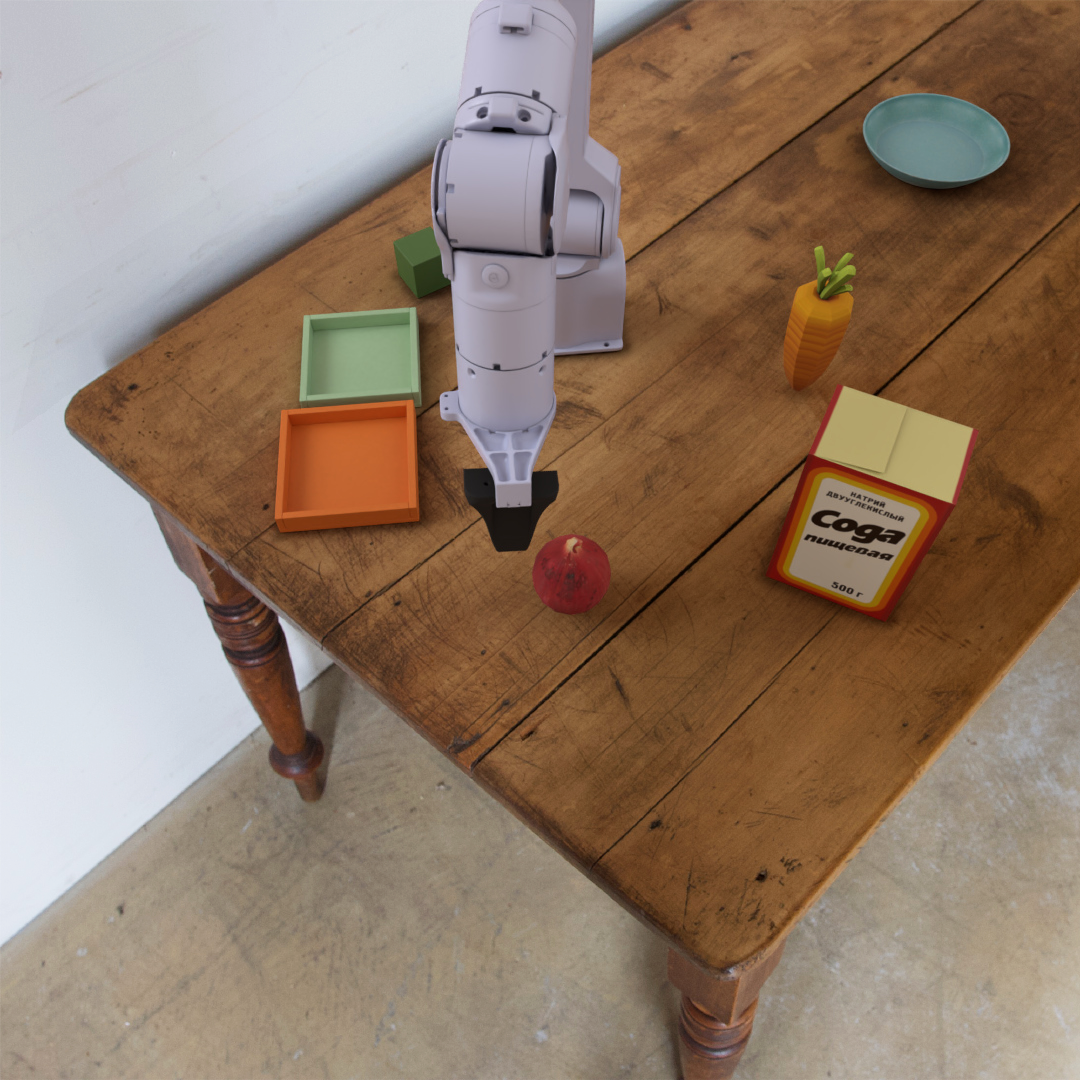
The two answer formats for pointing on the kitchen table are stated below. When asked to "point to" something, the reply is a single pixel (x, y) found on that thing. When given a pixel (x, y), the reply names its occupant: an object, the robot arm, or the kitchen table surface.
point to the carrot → (818, 322)
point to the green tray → (360, 358)
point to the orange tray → (347, 466)
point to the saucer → (935, 140)
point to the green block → (420, 262)
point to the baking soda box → (870, 501)
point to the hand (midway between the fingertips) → (508, 505)
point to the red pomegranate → (571, 574)
